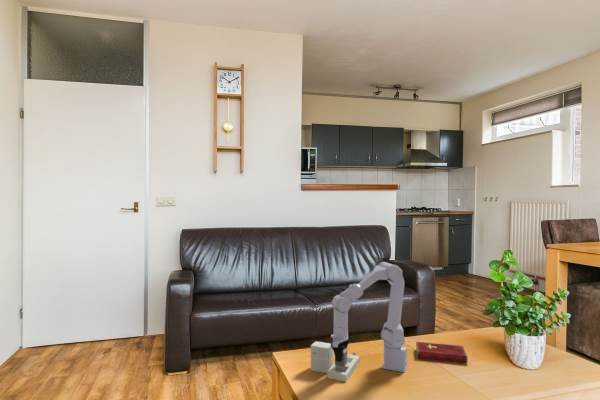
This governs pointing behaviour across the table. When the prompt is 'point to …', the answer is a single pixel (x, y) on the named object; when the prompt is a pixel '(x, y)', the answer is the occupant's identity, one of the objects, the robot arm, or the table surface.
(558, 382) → the table surface
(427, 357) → the hardcover book
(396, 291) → the robot arm
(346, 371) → the power strip
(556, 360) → the table surface
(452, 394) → the table surface
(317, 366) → the small box
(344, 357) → the plug
